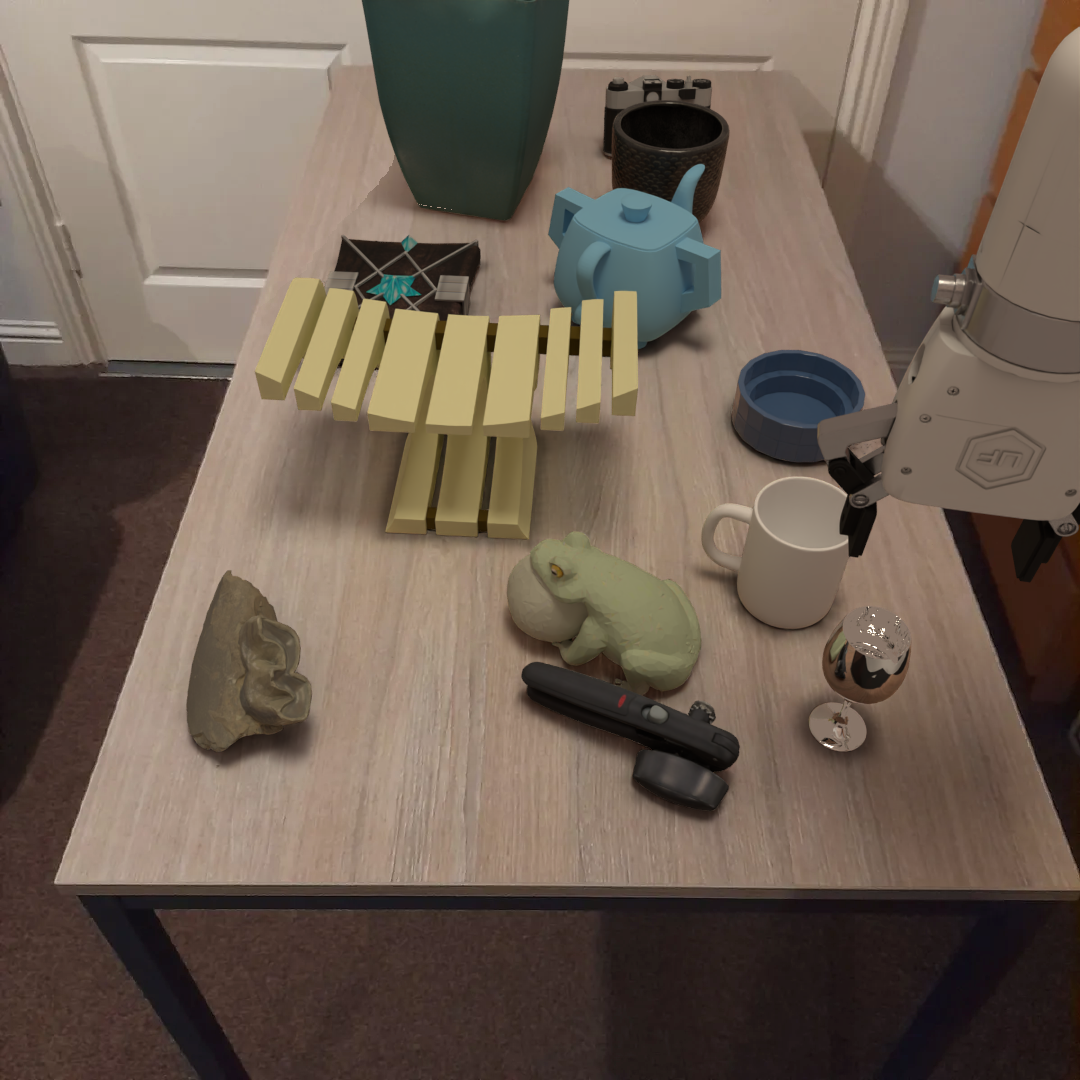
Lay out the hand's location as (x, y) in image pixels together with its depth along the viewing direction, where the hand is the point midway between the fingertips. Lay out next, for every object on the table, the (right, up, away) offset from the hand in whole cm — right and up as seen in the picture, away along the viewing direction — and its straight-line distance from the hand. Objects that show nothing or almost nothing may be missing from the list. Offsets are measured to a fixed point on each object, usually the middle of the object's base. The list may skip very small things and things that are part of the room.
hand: (935, 552), depth 60 cm
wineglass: (-1, -14, +18) cm, 23 cm away
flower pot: (-32, +47, +74) cm, 93 cm away
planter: (-8, +41, +69) cm, 81 cm away
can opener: (-17, -15, +17) cm, 28 cm away
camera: (-8, +58, +84) cm, 102 cm away
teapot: (-13, +27, +56) cm, 63 cm away
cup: (-4, -4, +27) cm, 28 cm away
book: (-40, +26, +55) cm, 73 cm away
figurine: (-19, -8, +23) cm, 31 cm away
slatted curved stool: (-31, +7, +37) cm, 48 cm away
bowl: (+2, +12, +42) cm, 44 cm away
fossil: (-43, -7, +18) cm, 47 cm away
